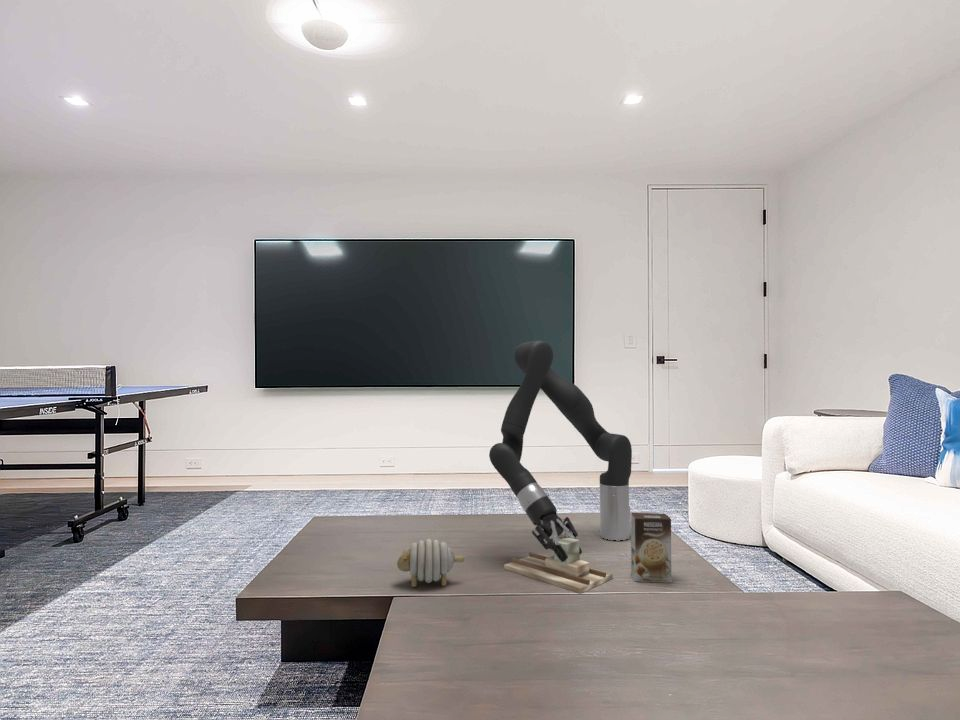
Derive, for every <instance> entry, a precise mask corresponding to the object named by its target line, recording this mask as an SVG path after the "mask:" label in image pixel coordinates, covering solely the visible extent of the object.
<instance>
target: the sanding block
mask: <svg viewBox="0 0 960 720" xmlns="http://www.w3.org/2000/svg"><path fill="white" fill-rule="evenodd" d="M558 542H559V545H561V547H562V548H563V550H564V551H565V553H566V554H567V556H568V558H567V559H566V560H565V561H564V562H561V560H560V559H559V558H558V557H557V555H556V554H555V552H554V551H553V553H554V554H553V555H551V556H550V557H549V558H546V559H545V567H547V568H550V569H554V570H557V571H561V572H564V573H567V574H571V575H574V576H578V577H583V576H585V575H588V574H589V567H590V562H589V561H586V560H582V559H580V555H579V547H580V539H577V538H575V539H572V538H568V536H566V538H563V539H560V538H559V539H558Z"/></svg>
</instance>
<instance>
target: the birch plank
mask: <svg viewBox="0 0 960 720" xmlns="http://www.w3.org/2000/svg"><path fill="white" fill-rule="evenodd" d="M549 557H551V556H549V555H545V554H541V553H538V552H537V553H536V552H532V551H529V552H528V556H526V557H522V558H520V559H519V558H516V557H512V558H511V562H509V563H505V564H504V565H503V566H504V568H503V569H504V570H506V571H509V572H512V573H515V574H518V575H522V576H526V577H528V578H531V579H534V580H538V581H540V582H543V583H547V584H549V585H553V586H556V587H559V588H563V589H566V590H569V591H571V592H574V593H579V594H582V592H583V593H585V592H587V591H589V590H591V589H593V588H596V587H597V586H600V585H601V584H604V583H606V582H608V581H610V580H613V579H614V578H613V577H614V575H613V573H611V572H607V571H603V570H602V569H601V570H600V569H596V568H592V567H590V566H589V574H588V575H585V576H583V577H578V576H574V575H571V574H567V573H564V572H561V571H557V570H554V569H550V568H547V567H545V559H546V558H549Z"/></svg>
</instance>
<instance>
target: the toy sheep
mask: <svg viewBox="0 0 960 720" xmlns="http://www.w3.org/2000/svg"><path fill="white" fill-rule="evenodd" d="M463 562H465V557H464V556H463V555H454V552H453V550H452V548H451V547H450V546H448V544H447V542H445V541H441V542H440V541H439V540H438V539H434V540H432V539H431V538H427V539H425V541H424V539H420V540H419V541H418V542H412V543H411V544H410V548H409V549H407V550H403V551H402V554H401V555H400V556H399V558H398V560H397V563H396V565H397V568H398V570H399V571H401V572H404V573H405V572H406V573H407V572H409V574H410V580H412V581H411V587H412V588H413V587H415V588H416V587H417V586H418V584H417V582H418V581H420V582H423V581H424V580H425V582H426V584H430V583H433V581H434V582H439V580H440V579H441V581H440V582H441V586H442V587H446V585H447V574H448V573H450V572H451V570H452V569H453V567H454V564H455V563H463ZM417 580H418V581H417Z"/></svg>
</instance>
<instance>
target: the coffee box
mask: <svg viewBox="0 0 960 720" xmlns="http://www.w3.org/2000/svg"><path fill="white" fill-rule="evenodd" d="M630 522H631V536H630V538H631V539H630V542H631V545H630V547H631V548H630V550H631V555H630V556H631V558H630V559H631V560H630V561H631V562H630V563H631V564H630V565H631V567H630V568H631V569H630V571H631V572H630V573H631V576H632V577H633V580H634V581H635V582H638V583H641V582H644V583H665V584H668V583H673V582H672V518H671V517H670V516H669V515H667V514H666V513H656V512H655V513H652V512H630Z"/></svg>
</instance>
